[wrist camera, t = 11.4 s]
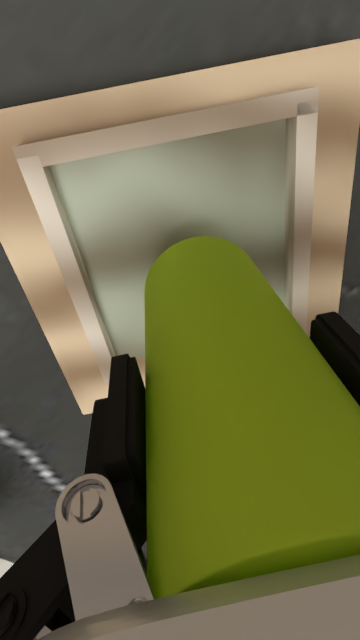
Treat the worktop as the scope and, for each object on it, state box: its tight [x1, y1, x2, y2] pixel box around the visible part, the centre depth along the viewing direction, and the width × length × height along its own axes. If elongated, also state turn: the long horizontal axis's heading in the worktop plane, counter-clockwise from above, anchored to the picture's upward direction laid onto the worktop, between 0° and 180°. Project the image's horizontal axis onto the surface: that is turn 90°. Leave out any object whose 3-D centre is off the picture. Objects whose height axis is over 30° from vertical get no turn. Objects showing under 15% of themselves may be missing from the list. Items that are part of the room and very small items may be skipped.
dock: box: [0, 39, 360, 415], centre depth 21 cm, size 20×20×4 cm
